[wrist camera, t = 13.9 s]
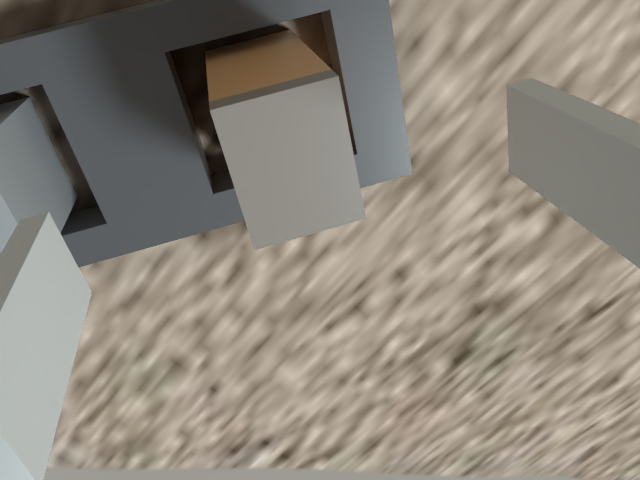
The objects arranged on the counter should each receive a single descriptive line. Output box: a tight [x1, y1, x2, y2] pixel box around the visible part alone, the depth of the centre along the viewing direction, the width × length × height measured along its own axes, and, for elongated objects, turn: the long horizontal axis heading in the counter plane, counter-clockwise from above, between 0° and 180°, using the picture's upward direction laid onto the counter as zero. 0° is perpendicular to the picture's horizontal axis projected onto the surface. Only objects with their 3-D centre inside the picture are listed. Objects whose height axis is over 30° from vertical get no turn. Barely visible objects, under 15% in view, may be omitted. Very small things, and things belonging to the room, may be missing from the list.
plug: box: [205, 30, 366, 250], centre depth 22 cm, size 4×5×10 cm
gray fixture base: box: [0, 0, 412, 267], centre depth 22 cm, size 24×10×8 cm, turn 102°
